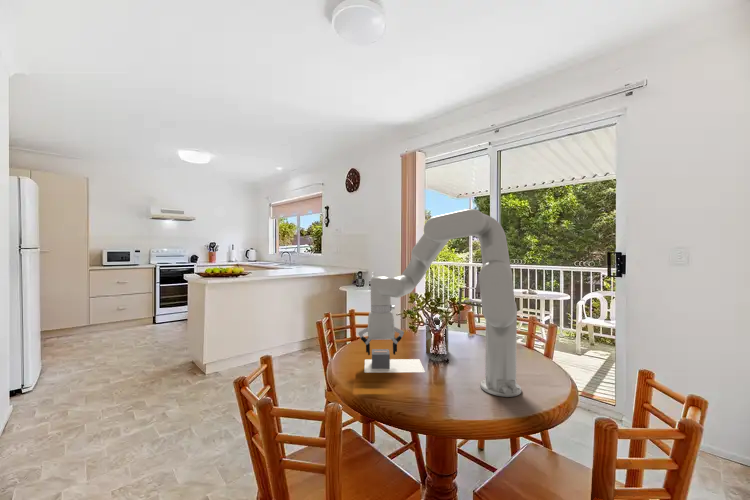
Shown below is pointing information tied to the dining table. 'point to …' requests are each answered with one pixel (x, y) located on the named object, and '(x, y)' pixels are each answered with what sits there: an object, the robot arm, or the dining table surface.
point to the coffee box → (429, 336)
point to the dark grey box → (380, 359)
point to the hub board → (396, 366)
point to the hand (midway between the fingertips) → (381, 353)
